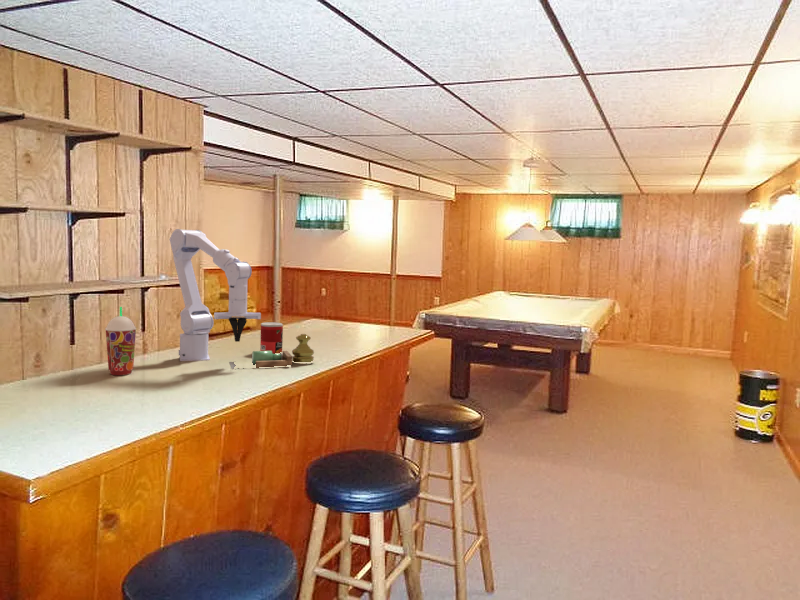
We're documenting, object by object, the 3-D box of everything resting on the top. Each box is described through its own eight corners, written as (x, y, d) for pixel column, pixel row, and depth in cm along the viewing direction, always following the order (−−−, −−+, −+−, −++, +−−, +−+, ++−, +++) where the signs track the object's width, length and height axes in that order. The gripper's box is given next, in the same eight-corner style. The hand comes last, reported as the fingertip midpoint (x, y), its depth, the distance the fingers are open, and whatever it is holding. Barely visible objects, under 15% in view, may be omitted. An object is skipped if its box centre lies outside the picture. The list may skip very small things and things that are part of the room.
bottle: (253, 350, 197) (282, 349, 201) (251, 352, 201) (280, 351, 205) (254, 363, 196) (283, 362, 200) (252, 365, 200) (280, 364, 204)
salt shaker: (316, 361, 209) (316, 333, 208) (310, 365, 202) (311, 336, 201) (295, 360, 210) (295, 332, 209) (289, 364, 202) (289, 335, 202)
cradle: (232, 370, 190) (232, 358, 190) (229, 362, 201) (229, 351, 201) (292, 368, 197) (292, 356, 196) (286, 361, 208) (286, 350, 208)
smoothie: (124, 377, 175) (124, 309, 173) (99, 375, 177) (98, 307, 175) (142, 371, 183) (142, 306, 181) (117, 369, 185) (117, 304, 183)
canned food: (279, 355, 217) (280, 325, 216) (257, 354, 217) (258, 324, 216) (284, 352, 225) (285, 322, 224) (263, 351, 225) (263, 321, 224)
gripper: (215, 300, 188) (214, 343, 189) (262, 300, 193) (261, 342, 194) (214, 298, 195) (213, 339, 196) (259, 298, 200) (258, 339, 201)
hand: (237, 341), depth 196 cm, fingers closed
